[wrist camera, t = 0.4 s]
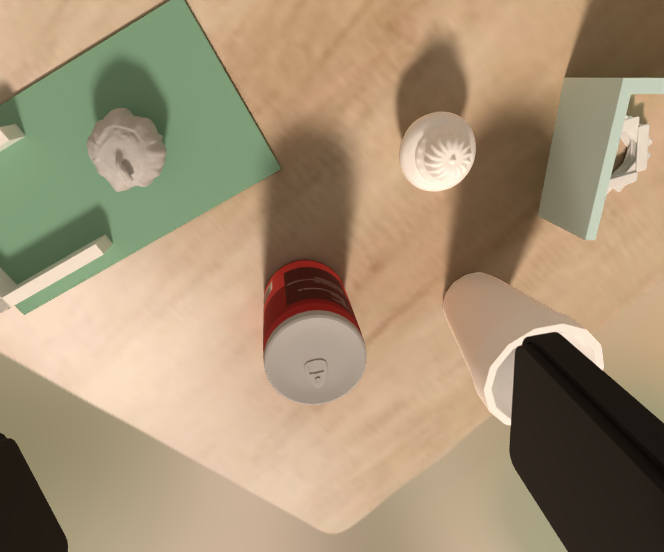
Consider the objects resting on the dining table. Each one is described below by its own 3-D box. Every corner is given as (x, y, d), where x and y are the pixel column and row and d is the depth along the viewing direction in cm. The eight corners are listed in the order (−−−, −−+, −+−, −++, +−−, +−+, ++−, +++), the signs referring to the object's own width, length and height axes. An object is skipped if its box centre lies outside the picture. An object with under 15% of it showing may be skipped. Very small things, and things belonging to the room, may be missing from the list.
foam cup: (523, 321, 48) (608, 402, 36) (441, 353, 48) (498, 444, 36) (507, 242, 44) (596, 304, 32) (417, 278, 44) (473, 352, 32)
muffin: (472, 144, 40) (511, 157, 33) (420, 196, 41) (449, 218, 35) (426, 91, 37) (459, 94, 31) (373, 148, 39) (395, 162, 32)
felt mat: (180, -6, 32) (180, -6, 32) (281, 168, 38) (281, 169, 38) (-112, 175, 35) (-115, 175, 34) (25, 313, 40) (24, 314, 40)
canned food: (285, 344, 45) (291, 420, 35) (248, 277, 42) (243, 341, 32) (356, 313, 45) (382, 381, 35) (325, 243, 42) (344, 297, 32)
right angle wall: (535, 214, 44) (585, 240, 37) (560, 77, 39) (623, 77, 32) (649, 210, 45) (717, 234, 38) (687, 77, 40) (772, 78, 34)
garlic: (172, 188, 38) (159, 204, 33) (102, 181, 37) (78, 197, 32) (172, 111, 35) (158, 117, 31) (96, 101, 34) (70, 106, 30)
